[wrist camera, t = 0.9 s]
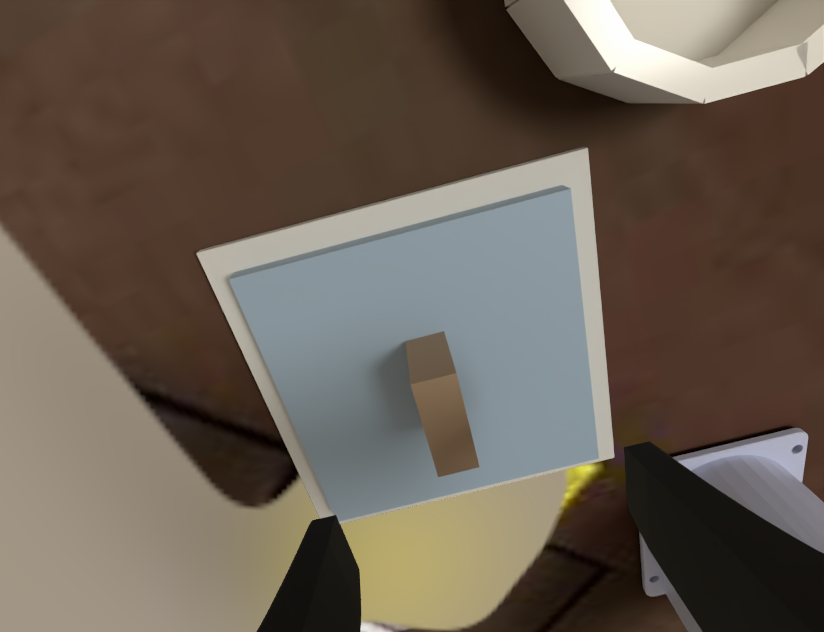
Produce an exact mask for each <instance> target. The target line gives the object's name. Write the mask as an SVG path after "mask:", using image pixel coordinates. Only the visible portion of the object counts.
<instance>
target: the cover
mask: <svg viewBox="0 0 824 632" xmlns="http://www.w3.org/2000/svg"><path fill="white" fill-rule="evenodd" d="M228 280H229V282H230V284H231V287H232V289H233V291H234V293H235V296H236V298H237V300H238V302H239V304H240V307H241V309H242V311H243V313H244V316H245V318H246V320H247V322H248V325H249V327H250V329H251V331H252V334H253V336H254V338H255V340H256V343H257V345H258V347H259V349H260V352H261V354H262V356H263V358H264V360H265V363H266V365H267V367H268V369H269V372H270V374H271V376H272V378H273V381H274V383H275V385H276V387H277V390H278V392H279V394H280V396H281V399H282V401H283V403H284V405H285V408H286V410H287V412H288V414H289V417H290V419H291V421H292V423H293V425H294V428H295V430H296V432H297V434H298V437H299V439H300V441H301V443H302V446H303V448H304V450H305V452H306V455H307V457H308V459H309V461H310V464H311V466H312V468H313V470H314V473H315V475H316V477H317V479H318V482H319V484H320V486H321V488H322V490H323V493H324V495H325V497H326V499H327V502H328V504H329V506H330V508H331V511H332V513H333V515H336V516H337V518H338V521H343V520H347V519H351V518H355V517H359V516H364V515H368V514H372V513H376V512H380V511H384V510H388V509H392V508H397V507H401V506H405V505H409V504H413V503H417V502H421V501H425V500H430V499H434V498H438V497H442V496H446V495H450V494H454V493H458V492H463V491H467V490H471V489H475V488H479V487H483V486H487V485H491V484H495V483H500V482H504V481H508V480H512V479H516V478H520V477H524V476H528V475H533V474H537V473H541V472H545V471H549V470H553V469H557V468H561V467H566V466H570V465H574V464H578V463H582V462H586V461H590V460H594V459H599V454H598V444H597V435H596V425H595V415H594V406H593V396H592V387H591V377H590V368H589V358H588V348H587V339H586V329H585V320H584V310H583V301H582V291H581V281H580V272H579V262H578V253H577V243H576V233H575V224H574V214H573V205H572V195H571V188H568V187H566V186H564V185H559V186H556V187H552V188H548V189H544V190H541V191H537V192H533V193H529V194H526V195H522V196H518V197H514V198H511V199H507V200H503V201H499V202H496V203H492V204H488V205H484V206H481V207H477V208H473V209H469V210H466V211H462V212H458V213H454V214H451V215H447V216H443V217H439V218H436V219H432V220H428V221H424V222H421V223H417V224H413V225H409V226H405V227H402V228H398V229H394V230H390V231H387V232H383V233H379V234H375V235H372V236H368V237H364V238H360V239H357V240H353V241H349V242H345V243H342V244H338V245H334V246H330V247H327V248H323V249H319V250H315V251H312V252H308V253H304V254H300V255H297V256H293V257H289V258H285V259H282V260H278V261H274V262H270V263H267V264H263V265H259V266H255V267H252V268H248V269H244V270H240V271H237V272H234V273H233V275H232V276H231V277H230V278H229V279H228Z"/></svg>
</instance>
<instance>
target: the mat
mask: <svg viewBox="0 0 824 632" xmlns="http://www.w3.org/2000/svg"><path fill="white" fill-rule="evenodd" d="M559 185H564V186H566V187H568V188H571V195H572V205H573V214H574V224H575V233H576V243H577V253H578V262H579V272H580V281H581V291H582V301H583V310H584V320H585V329H586V339H587V348H588V358H589V368H590V377H591V387H592V396H593V406H594V415H595V425H596V435H597V444H598V454H599V459H594V460H590V461H586V462H582V463H578V464H574V465H570V466H566V467H561V468H557V469H553V470H549V471H545V472H541V473H537V474H533V475H528V476H524V477H520V478H516V479H512V480H508V481H504V482H500V483H495V484H491V485H487V486H483V487H479V488H475V489H471V490H467V491H463V492H458V493H454V494H450V495H446V496H442V497H438V498H434V499H430V500H425V501H421V502H417V503H413V504H409V505H405V506H401V507H397V508H392V509H388V510H384V511H380V512H376V513H372V514H368V515H364V516H359V517H355V518H351V519H347V520H343V521H339V523H340V524H342V523H347V522H351V521H355V520H359V519H363V518H367V517H371V516H375V515H379V514H384V513H388V512H392V511H396V510H400V509H404V508H409V507H413V506H417V505H421V504H425V503H429V502H433V501H437V500H442V499H446V498H450V497H454V496H458V495H462V494H466V493H470V492H474V491H479V490H483V489H487V488H491V487H495V486H499V485H503V484H508V483H512V482H515V481H520V480H524V479H528V478H532V477H536V476H541V475H544V474H549V473H553V472H557V471H561V470H565V469H570V468H574V467H578V466H582V465H586V464H590V463H594V462H598V461H603V460H607V459H611V458H614V446H613V435H612V423H611V411H610V400H609V388H608V376H607V365H606V353H605V342H604V330H603V318H602V307H601V295H600V284H599V272H598V260H597V249H596V237H595V225H594V214H593V202H592V191H591V179H590V167H589V156H588V148H586V147H581V148H577V149H573V150H569V151H566V152H562V153H558V154H555V155H551V156H547V157H543V158H540V159H536V160H532V161H529V162H525V163H521V164H517V165H514V166H510V167H506V168H503V169H499V170H495V171H491V172H488V173H484V174H480V175H477V176H473V177H469V178H465V179H462V180H458V181H454V182H451V183H447V184H443V185H439V186H436V187H432V188H428V189H425V190H421V191H417V192H413V193H410V194H406V195H402V196H399V197H395V198H391V199H387V200H384V201H380V202H376V203H372V204H369V205H365V206H361V207H358V208H354V209H350V210H346V211H343V212H339V213H335V214H332V215H328V216H324V217H320V218H317V219H313V220H309V221H306V222H302V223H298V224H294V225H291V226H287V227H283V228H280V229H276V230H272V231H268V232H265V233H261V234H257V235H254V236H250V237H246V238H242V239H239V240H235V241H231V242H228V243H224V244H220V245H216V246H213V247H209V248H205V249H202V250H199V251H198V252H197V253H196V254H197V256H198V258H199V260H200V262H201V265H202V267H203V269H204V271H205V273H206V275H207V277H208V280H209V282H210V284H211V286H212V288H213V290H214V292H215V295H216V297H217V299H218V301H219V303H220V305H221V308H222V310H223V312H224V314H225V316H226V318H227V320H228V323H229V325H230V327H231V329H232V331H233V333H234V335H235V338H236V340H237V342H238V344H239V346H240V348H241V350H242V353H243V355H244V357H245V359H246V361H247V363H248V366H249V368H250V370H251V372H252V374H253V376H254V378H255V381H256V383H257V385H258V387H259V389H260V391H261V393H262V396H263V398H264V400H265V402H266V404H267V406H268V408H269V411H270V413H271V415H272V417H273V419H274V421H275V424H276V426H277V428H278V430H279V432H280V434H281V436H282V439H283V441H284V443H285V445H286V447H287V449H288V451H289V454H290V456H291V458H292V460H293V462H294V464H295V466H296V469H297V471H298V473H299V475H300V477H301V479H302V481H303V484H304V486H305V488H306V490H307V492H308V494H309V497H310V499H311V501H312V503H313V505H314V507H315V509H316V512H317V514H318V516H319V518H320V519H321V518H325V517H329V516H333V513H332V511H331V508H330V506H329V504H328V502H327V499H326V497H325V495H324V493H323V490H322V488H321V486H320V484H319V482H318V479H317V477H316V475H315V473H314V470H313V468H312V466H311V464H310V461H309V459H308V457H307V455H306V452H305V450H304V448H303V446H302V443H301V441H300V439H299V437H298V434H297V432H296V430H295V428H294V425H293V423H292V421H291V419H290V417H289V414H288V412H287V410H286V408H285V405H284V403H283V401H282V399H281V396H280V394H279V392H278V390H277V387H276V385H275V383H274V381H273V378H272V376H271V374H270V372H269V369H268V367H267V365H266V363H265V360H264V358H263V356H262V354H261V352H260V349H259V347H258V345H257V343H256V340H255V338H254V336H253V334H252V331H251V329H250V327H249V325H248V322H247V320H246V318H245V316H244V313H243V311H242V309H241V307H240V304H239V302H238V300H237V298H236V296H235V293H234V291H233V289H232V287H231V284H230V282H229V280H228V279H229V278H230V277H231V276H232V275H233V273H234V272H237V271H240V270H244V269H248V268H252V267H255V266H259V265H263V264H267V263H270V262H274V261H278V260H282V259H285V258H289V257H293V256H297V255H300V254H304V253H308V252H312V251H315V250H319V249H323V248H327V247H330V246H334V245H338V244H342V243H345V242H349V241H353V240H357V239H360V238H364V237H368V236H372V235H375V234H379V233H383V232H387V231H390V230H394V229H398V228H402V227H405V226H409V225H413V224H417V223H421V222H424V221H428V220H432V219H436V218H439V217H443V216H447V215H451V214H454V213H458V212H462V211H466V210H469V209H473V208H477V207H481V206H484V205H488V204H492V203H496V202H499V201H503V200H507V199H511V198H514V197H518V196H522V195H526V194H529V193H533V192H537V191H541V190H544V189H548V188H552V187H556V186H559Z"/></svg>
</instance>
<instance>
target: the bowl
mask: <svg viewBox="0 0 824 632" xmlns="http://www.w3.org/2000/svg"><path fill="white" fill-rule="evenodd" d="M504 3H505V7H508V6H509V7H508V8H507V9H506V10H507V12H508V13H509V14H510V16H511V17H512V19H513V20H514V21H515V23H516V24H517V25H518V27H519V28H520V29H521V31H522V32H523V34H524V35H525V36H526V38H527V39H528V40H529V42H530V43H531V44H532V46H533V47H534V49H535V50H536V51H537V53H538V54H539V55H540V57H541V58H542V59H543V61H544V62H545V64H546V65H547V66H548V68H549V69H550V70H551V72H552V73H553V74H554V76H555V77H556V78H558V79H559V80H562V81H565V82H567V83H570V84H573V85H576V86H579V87H582V88H585V89H588V90H591V91H594V92H597V93H600V94H603V95H606V96H609V97H611V98H614V99H617V100H620V101H623V102H626V103H701V104H705V103H709V102H713V101H716V100H720V99H724V98H727V97H731V96H735V95H739V94H742V93H746V92H750V91H753V90H757V89H761V88H765V87H768V86H772V85H776V84H779V83H783V82H787V81H790V80H794V79H798V78H802V77H805V75H809V74H810V73H811V72H812V71H813V70H815V69H816V68H817V67H818V66H819V65H820V64H822V63H823V62H824V0H504Z"/></svg>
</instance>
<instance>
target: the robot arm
mask: <svg viewBox="0 0 824 632" xmlns="http://www.w3.org/2000/svg"><path fill="white" fill-rule="evenodd" d="M807 443H808V435H807V434H806V433H805V432H804V431H803V430H802V429H800V428H791V429H787V430H783V431H779V432H775V433H771V434H767V435H762V436H758V437H754V438H750V439H746V440H742V441H738V442H733V443H729V444H725V445H721V446H717V447H713V448H709V449H704V450H700V451H696V452H692V453H688V454H684V455H679V456H675V457H671V456H669V455H668V454H667V453H665V452H664V451H662V450H661V449H660V448H658V447H657V446H655V445H654V444H652V443H651V442H645V443H641V444H636V445H632V446H628V447H624V454H625V471H626V487H627V504H628V509H629V511H630V513H631V515H632V518H633V520H634V522H635V524H636V526H637V528H638V530H639V536H640V552H641V568H642V584H643V589H644V591H645V593H646V594H647V595H648V596H652V597H653V596H659V595H663V594H666V595H667V597H668V599H669V600H670V602H671V604H672V605H673V607H674V609H675V611H676V612H677V614H678V616H679V617H680V619H681V621H682V622H683V624H684V626H685V627H686V629H687V631H688V632H824V502H822V501H821V500H820V499H819V498H818V497H817V496H816V495H815V494H814V493H812V492H811V491H810V490H809V489H808V488H807V487H806V486H805V485H804V484H802V479H803V472H804V465H805V457H806V450H807ZM360 626H361V594H360V574H359V568H358V566H357V563H356V561H355V559H354V556H353V554H352V551H351V549H350V547H349V544H348V542H347V540H346V537H345V535H344V533H343V530H342V528H341V525H340V523H339V521H338V518H337V516H336V515H333V516H329V517H325V518H321V519H316V520H313V521H312V522H311V523H310V525H309V527H308V529H307V531H306V534H305V536H304V538H303V540H302V542H301V544H300V547H299V549H298V551H297V553H296V555H295V557H294V560H293V562H292V564H291V566H290V568H289V570H288V572H287V574H286V576H285V578H284V580H283V583H282V585H281V586H280V588H279V590H278V592H277V594H276V597H275V598H274V600H273V602H272V604H271V607H270V608H269V610H268V612H267V614H266V616H265V618H264V619H263V621H262V623H261V625H260V627H259V628H258V630H257V632H360Z"/></svg>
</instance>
